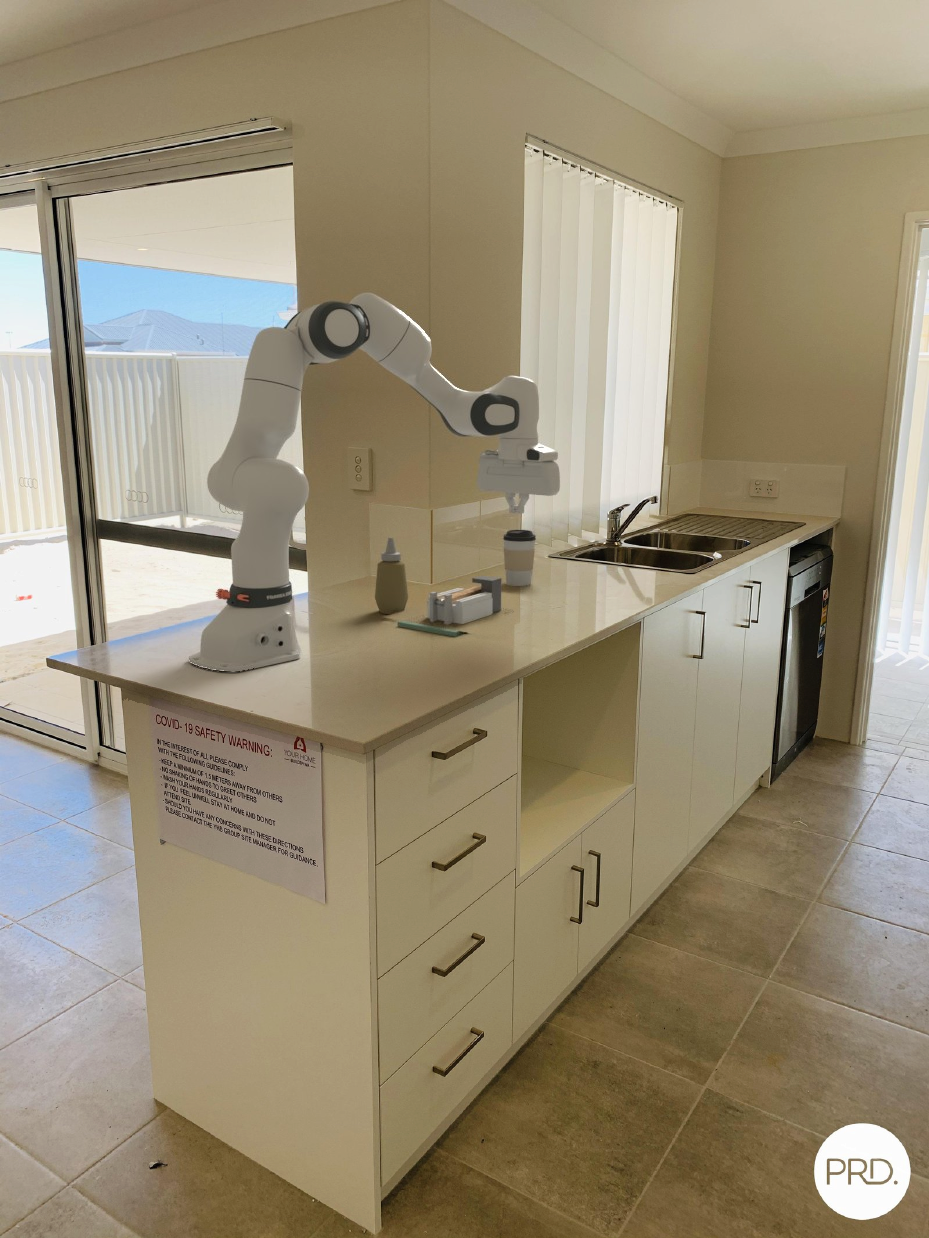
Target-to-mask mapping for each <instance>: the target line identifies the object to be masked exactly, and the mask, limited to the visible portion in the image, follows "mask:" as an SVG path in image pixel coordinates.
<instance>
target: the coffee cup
mask: <svg viewBox="0 0 929 1238" xmlns="http://www.w3.org/2000/svg"><path fill="white" fill-rule="evenodd" d="M536 536H537V535H535V534H534V533H533V531H531V530H528V529H510V530H507V532H506V533H505V534H504V535H503V538H502V539H503V561H504V562H503V563H504V570H505V583H506V585H507V584H508V586H512V587H527V586H530V585H529V584H532V577H533V569H534V563H535V560H534V559H535V550H536V549H535V545H536V540H537V539H536ZM526 585H527V586H526Z"/></svg>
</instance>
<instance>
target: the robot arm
mask: <svg viewBox="0 0 929 1238" xmlns="http://www.w3.org/2000/svg"><path fill="white" fill-rule="evenodd" d="M252 343H253V344H252V346H251V349H250V352H249V356H248V359H247V364H246V367H245V370H244V371H245V373H244V377H243V384H242V390H241V395H240V402H239V406H238V413H237V417H236V421H235V424H234V427H233V430H232V433H231V435H230V437H229V439H228V442H227V444H226V446H225V449H224V451H223V452H222V454H221V456H220V458H219V459H218V460H217V461H216V462H214V464H212V466H211V467H210V469H209V471H208V474H207V478H206V479H207V482H206V483H207V484H206V485H207V490H208V492H209V494H210V496H211V498H213V499H214V500H215V501H216V502H217V503H219V504H221V505H222V506H223V507H225V508H227V509H230V510H233V511H235V512H236V511H237V512H241V513H242V521H241V526H240V531H239V533H238V535H237V537H236V538H235V539H234V541H233V542H232V544H231V547H230V555H231V556H230V557H231V573H232V583H231V584H230V588H229V589H222V588H218V589H216V591H215V597H216V598H217V599H219V600H224V601H226V602H225V603H226V605H225V606H224V607H223V609H221V611H220V612H219V613H218V614H217V615H216V616H215V617H214V618H213V620H211V621H210V623H209V624H208V625H207V626H206V627H205V628H204V629H203V630H202V634H201V638H200V649H199V650H200V651H198V652H197V653H194V654H191V655H189V656H188V661H189V660H190V662H192V663H194V664H197V665H199V666H203V667H207V668H210V669H216V670H224V671H240V672H242V671H241V670H245V671H248V669H249V670H253V668H254V669H257V668H262V667H268V666H272V665H277V664H281V663H285V662H289V661H293V660H294V661H295V660H299V659H300V657H301V655H300V651H301V647H300V645H299V642H298V638H297V635H296V630H295V629H296V628H295V623H294V617H293V612H292V603H291V601H292V600H293V587H292V582H291V581H290V566H289V564H290V562H289V561H290V560H289V559H290V557H289V549H290V548H289V547H290V539H291V533H292V529H293V526H294V522H295V519H296V517H297V516H298V513H299V512H300V511H301V510H302V509H303V508H304V506H305V505H306V503H307V501H308V499H309V495H310V494H309V493H310V485H309V481H308V477H307V476H306V474H305V473H304V472H303V470H302V469H301V468H299V467H297V466H295V465H294V464H292V463H290V462H287V461H285V460H283V459H279V458H278V456H279V454H280V451H281V450H282V447H283V446H284V445H285V443H286V442H287V441H288V440H289V439H290V438H291V437H293V434H294V433H295V430H296V428H297V427H296V426H297V421H298V415H299V409H300V403H301V397H302V396H301V395H302V390H303V382H304V376H305V374H306V371H307V368H308V367H309V366H310V365H313V366H314V365H318V364H329V363H333V362H337V361H339V360H342V359H345V358H347V357H349V356H351V355H352V354H354V353H356V351H357V350H358V349H359V350H361V351H363V352H364V353H366V354H367V355H368V356H369V357H370V358H372V359H373V360H374V361H375V362H376V363H378V364H379V365H380V366H382V367H383V368H384V369H386V370H387V371H388V372H390V373H392V374H393V375H395V376H396V377H398V378H399V379H401V380H402V381H404V382H406V384H408V385H409V387H410V388H412V389H413V390H414V391H415V392H416V393H418V395H420V396H421V397H422V398H423V399H424V400H426V402H428V403H429V404H430V405H431V406H432V407H433V408H434V409H435V410H436V411H437V413H438V414H439V416H440V417H441V419H442V422H443V423H444V425H445V426H446V428H447V429H448V431H449V432H451V433H452V434H453V435H456V436H458V437H479V438H481V437H483V438H484V437H485V438H488V437H490V438H491V437H494V436H498V450H497V449H496V450H491V449H485V450H484V451H483V452H481V453H480V455H479V458H478V464H479V465H478V471H477V479H476V486H477V487H478V489H479V491H483V492H497V493H505V494H504V496H505V497H504V498H505V500H506V501H507V505H508V506H509V513H510V514H519V515H520V514H521V515H523V514H524V513H525V506H526V505H527V503H528V501H529V499H530V495H533V496H535V495H536V496H544V497H545V496H547V497H549V496H550V497H551V496H556V495H558V493H559V491H560V487H561V479H560V478H561V475H560V467H559V465H558V463H557V462H556V461H557V460H558V457H559V453H558V450H556V449H553V448H550V447H548V446H546V445H544V444H542V443H539V433H538V428H537V427H538V422H539V419H540V398H539V390H538V386H537V383H536V382H535V381H534V380H532V379H531V378H526V377H522V376H517V375H507V376H503V378H502V379H501V380H500V381H499V382H497V383H496V384H494V385H493V386H490V387H489V388H486V389H483V390H482V391H469V390H463V389H460V388H458V387H456V386H455V385H453V384H452V383H451V382H450V381H449V380H447V378H445V376H443V375H442V374H441V373H440V372H439V371H438V370H437V369H436V368H435V367H434V366H433V365H432V364H431V361H430V360H431V358H432V351H433V349H432V342H431V338H430V337H429V336H428V335H427V333H426V332H425V330H423V328H421V326H420V325H418V324H417V323H416V321H414V320H413V319H412V318H410V316H408V315H407V314H406V313H405V312H403V311H402V310H400V309H399V308H398V307H396V306H395V305H393V304H392V303H391V302H389V301H387V300H385V299H384V298H382V297H381V296H379V295H376V294H375V293H372V292H362V293H360V294H357V295H355V296H354V297H353V298H352V299H351V300H350V301H349V302H344V301H343V302H342V301H337V300H332V301H331V300H330V301H325V302H323V303H318V304H314V305H313V304H312V305H310V306H308V307H306V308H305V309H303V310H302V311H299V312H297V313H296V314H294V315H293V316H292V317H291V318H290V320H289V321H288V322H287V323H286V325H285V326H284V327H282V326H281V327H280V326H271V327H265V328H264V329H262V330H260V331H259V332H258V333H257V334H256V336H255V339H254V341H253V342H252ZM516 494H518V498H519V499H520V501H519V502H518V504H517V502H516V500H515V498H516Z"/></svg>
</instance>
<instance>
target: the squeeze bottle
mask: <svg viewBox="0 0 929 1238" xmlns="http://www.w3.org/2000/svg"><path fill="white" fill-rule="evenodd" d="M394 539H395V538H394V537H388V538H387V543H386V548H385V551H383V552H381V553H380V554H381V555H380V557H381V558H380V559H381V561H379V562H378V563H377V567H376V581H375V592H374V593H375V594H374V599H375V603H376V605H377V608H378V610H379V613H381V614H383V615H384V614H385V615H392V614H393V615H394V614H396V613H401V612H403V611H405V609H406V605H407V603H408V600H409V591H408V583H407V574H406V573H407V572H406V566H405V562H403V561H402V556H401V555H402V554H401V552H399V551H397V549H396V545H395V544H396V543H395V540H394Z"/></svg>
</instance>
